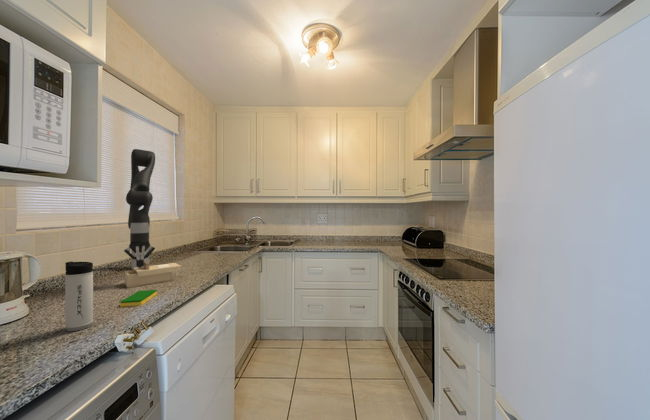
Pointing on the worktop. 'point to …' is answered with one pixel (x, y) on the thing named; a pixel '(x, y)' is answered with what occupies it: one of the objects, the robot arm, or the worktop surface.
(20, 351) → the worktop surface
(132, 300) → the dish sponge
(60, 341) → the worktop surface
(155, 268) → the lid
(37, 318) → the worktop surface
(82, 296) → the travel mug
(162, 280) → the box
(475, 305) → the worktop surface
